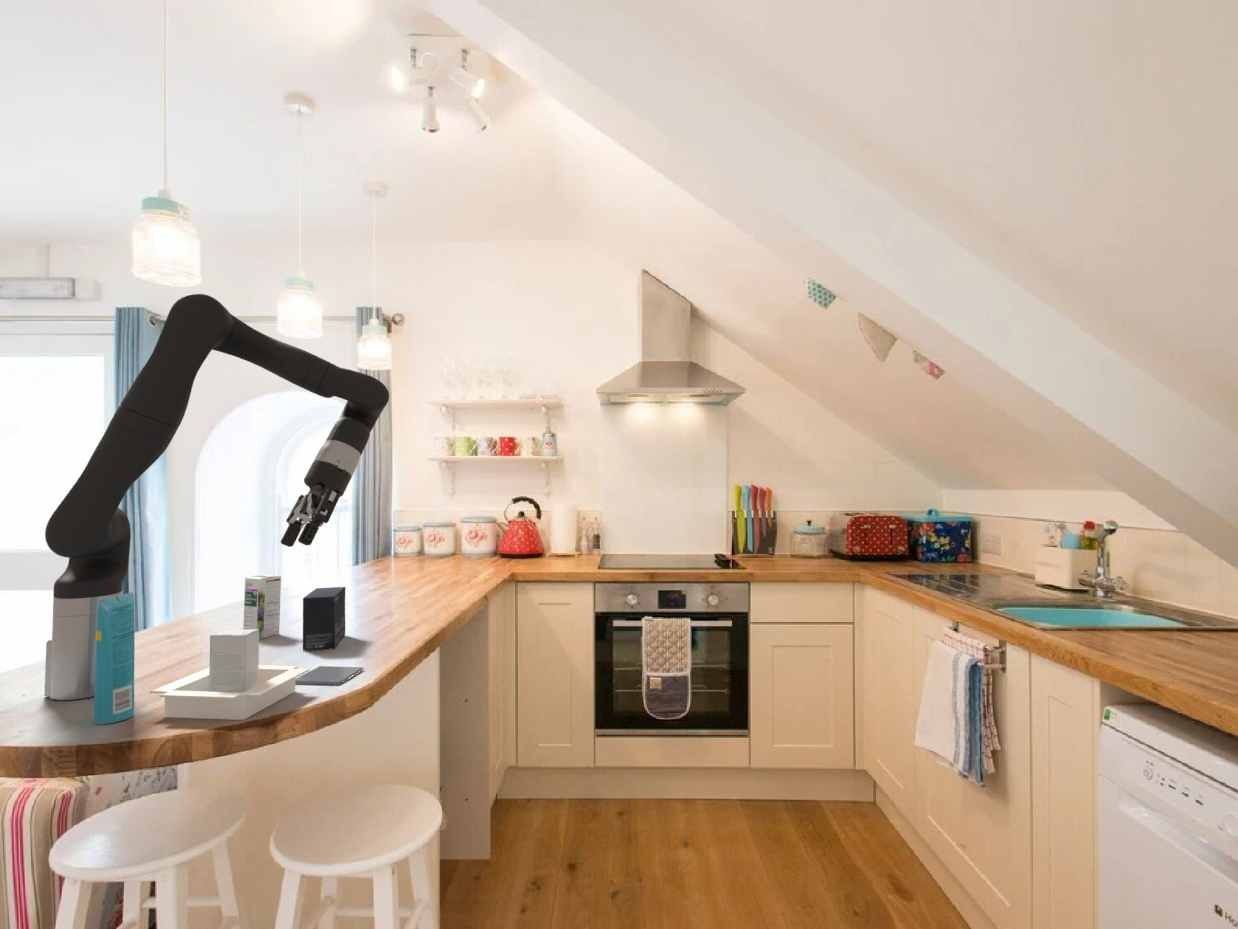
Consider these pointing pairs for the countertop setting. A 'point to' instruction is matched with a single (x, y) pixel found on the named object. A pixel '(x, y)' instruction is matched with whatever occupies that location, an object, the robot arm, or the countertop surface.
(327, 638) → the small box
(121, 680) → the tube
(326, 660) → the countertop surface
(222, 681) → the skincare box
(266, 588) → the syrup box
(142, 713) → the countertop surface
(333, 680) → the coaster
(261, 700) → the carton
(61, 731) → the countertop surface
